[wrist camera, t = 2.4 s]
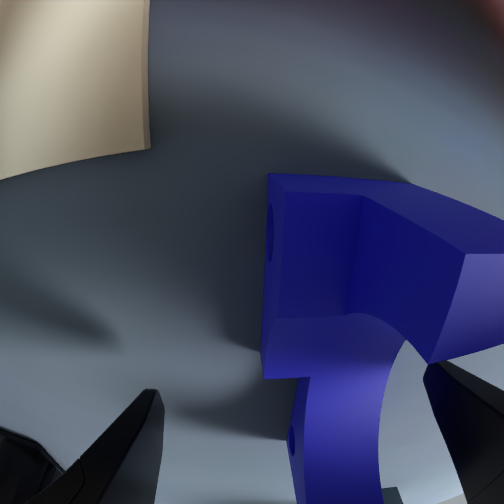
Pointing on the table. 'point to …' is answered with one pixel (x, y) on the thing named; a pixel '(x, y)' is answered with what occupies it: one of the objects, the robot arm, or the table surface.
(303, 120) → the table surface
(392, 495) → the watch
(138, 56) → the pad
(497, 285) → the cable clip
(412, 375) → the table surface
